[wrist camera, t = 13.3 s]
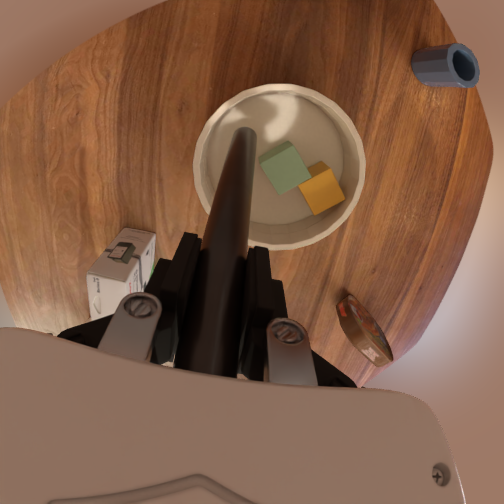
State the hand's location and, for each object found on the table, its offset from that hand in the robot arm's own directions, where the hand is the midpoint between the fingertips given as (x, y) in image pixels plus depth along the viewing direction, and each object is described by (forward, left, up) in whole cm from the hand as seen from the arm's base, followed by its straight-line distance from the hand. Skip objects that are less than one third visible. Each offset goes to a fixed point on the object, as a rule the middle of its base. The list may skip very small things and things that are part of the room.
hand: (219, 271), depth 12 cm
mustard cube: (0, +9, -23) cm, 25 cm away
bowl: (-1, +4, -24) cm, 24 cm away
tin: (+19, +24, -24) cm, 39 cm away
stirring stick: (-4, 0, -14) cm, 15 cm away
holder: (-20, +20, -24) cm, 37 cm away
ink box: (+15, -11, -24) cm, 31 cm away
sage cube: (-1, +5, -23) cm, 24 cm away
